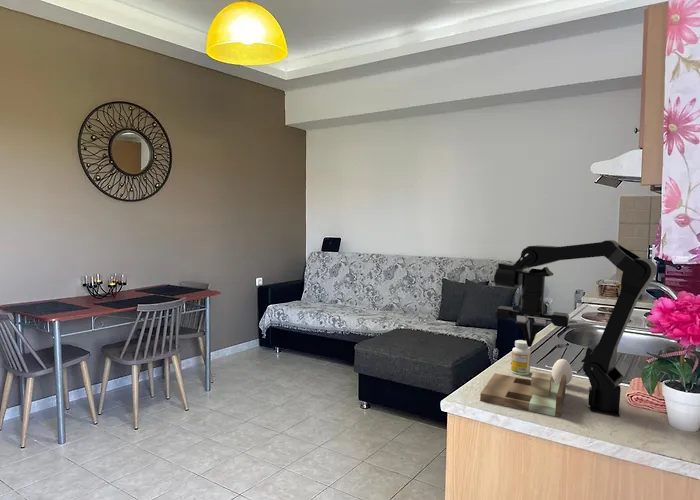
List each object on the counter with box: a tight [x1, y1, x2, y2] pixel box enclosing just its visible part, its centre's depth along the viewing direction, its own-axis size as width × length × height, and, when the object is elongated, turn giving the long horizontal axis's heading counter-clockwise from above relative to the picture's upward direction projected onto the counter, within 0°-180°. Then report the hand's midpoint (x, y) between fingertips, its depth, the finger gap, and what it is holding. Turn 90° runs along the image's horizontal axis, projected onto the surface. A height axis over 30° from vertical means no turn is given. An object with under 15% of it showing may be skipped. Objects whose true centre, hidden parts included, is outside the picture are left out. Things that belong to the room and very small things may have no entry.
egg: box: [551, 358, 573, 386], centre depth 136 cm, size 5×5×8 cm
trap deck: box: [479, 373, 567, 418], centre depth 126 cm, size 19×18×5 cm
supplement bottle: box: [510, 339, 532, 376], centre depth 146 cm, size 5×5×10 cm
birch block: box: [530, 371, 553, 397], centre depth 124 cm, size 4×4×4 cm
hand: (529, 346), depth 132 cm, fingers closed
